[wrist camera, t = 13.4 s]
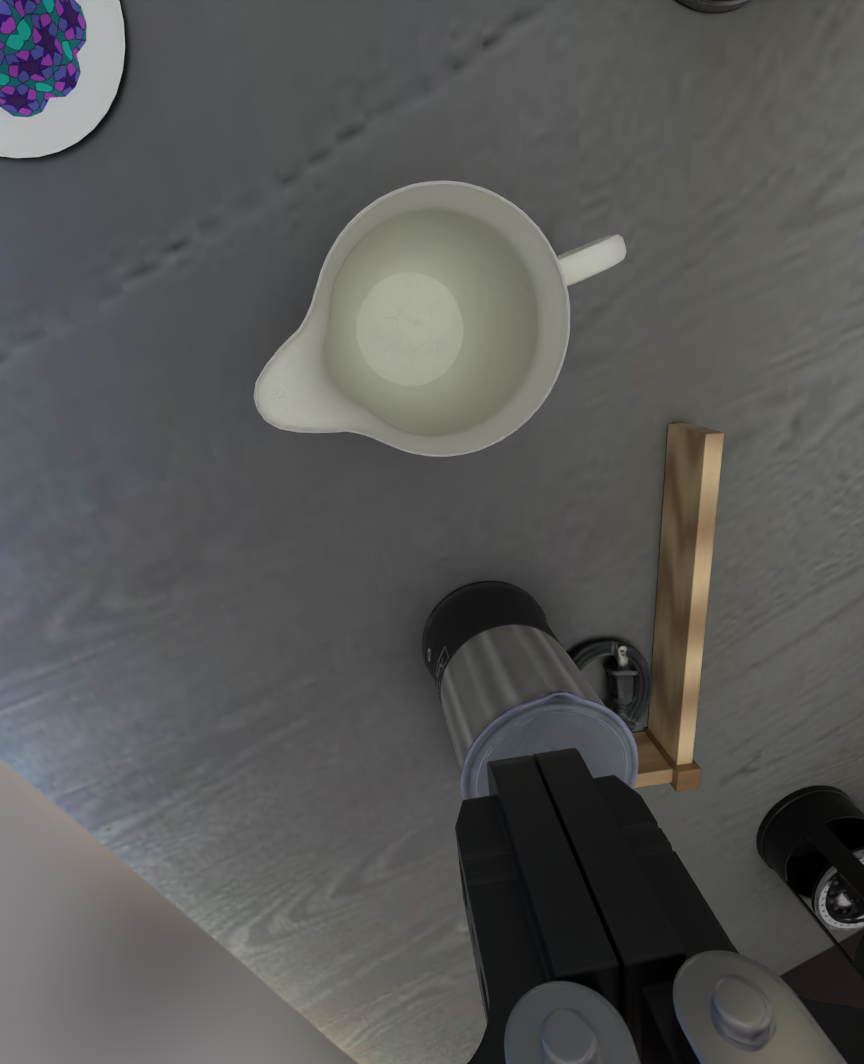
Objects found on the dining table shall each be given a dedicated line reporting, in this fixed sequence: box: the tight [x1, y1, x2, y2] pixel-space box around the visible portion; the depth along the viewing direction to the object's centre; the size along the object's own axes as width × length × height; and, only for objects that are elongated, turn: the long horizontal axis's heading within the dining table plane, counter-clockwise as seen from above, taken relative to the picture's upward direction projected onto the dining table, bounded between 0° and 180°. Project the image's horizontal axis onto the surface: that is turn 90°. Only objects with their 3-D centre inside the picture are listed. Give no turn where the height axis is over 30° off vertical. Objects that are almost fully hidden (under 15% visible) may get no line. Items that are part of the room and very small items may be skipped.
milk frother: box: [423, 582, 653, 802], centre depth 37 cm, size 14×16×15 cm
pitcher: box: [254, 181, 626, 457], centre depth 30 cm, size 11×18×14 cm, turn 112°
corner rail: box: [632, 423, 724, 792], centre depth 41 cm, size 26×15×5 cm, turn 3°
